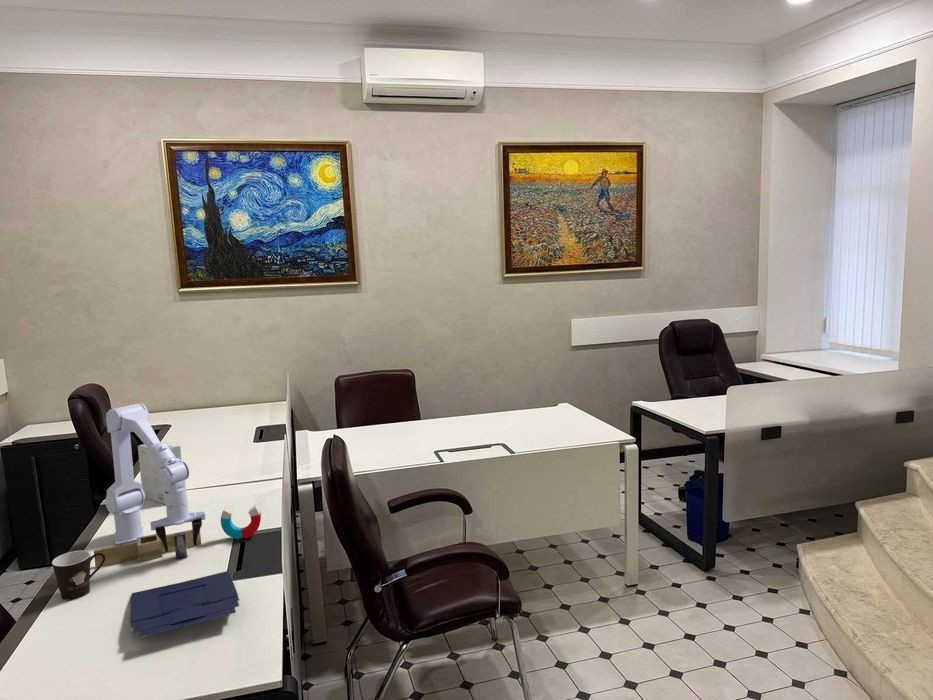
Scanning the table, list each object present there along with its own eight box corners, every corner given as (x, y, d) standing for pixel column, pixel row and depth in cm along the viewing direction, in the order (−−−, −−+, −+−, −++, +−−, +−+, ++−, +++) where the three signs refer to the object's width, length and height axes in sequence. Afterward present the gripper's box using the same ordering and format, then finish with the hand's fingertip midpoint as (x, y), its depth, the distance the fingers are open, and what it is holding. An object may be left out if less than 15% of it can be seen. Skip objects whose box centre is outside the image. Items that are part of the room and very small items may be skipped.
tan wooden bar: (95, 562, 185) (94, 546, 184) (199, 540, 198) (198, 524, 198) (95, 571, 180) (93, 555, 179) (202, 547, 193) (201, 532, 192)
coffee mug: (54, 605, 162) (50, 569, 161) (58, 590, 170) (53, 555, 168) (106, 594, 168) (102, 558, 166) (107, 579, 175) (104, 545, 174)
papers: (130, 652, 141) (129, 636, 141) (131, 603, 167) (130, 589, 167) (245, 621, 152) (243, 606, 152) (229, 580, 179) (228, 567, 178)
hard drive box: (185, 498, 233) (181, 446, 230) (166, 505, 226) (161, 451, 223) (161, 490, 241) (156, 440, 238) (141, 497, 235) (136, 445, 232)
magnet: (222, 541, 197) (219, 510, 196) (223, 537, 200) (221, 507, 198) (261, 537, 200) (259, 507, 198) (262, 533, 202) (260, 503, 201)
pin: (175, 556, 188) (173, 533, 187) (186, 553, 190) (184, 531, 189) (176, 560, 186) (174, 537, 185) (187, 557, 187) (185, 535, 186)
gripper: (149, 513, 178) (154, 558, 180) (205, 502, 185) (208, 546, 187) (148, 505, 184) (152, 549, 186) (202, 495, 191) (205, 537, 193)
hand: (180, 547), depth 187 cm, fingers open, 7 cm apart
